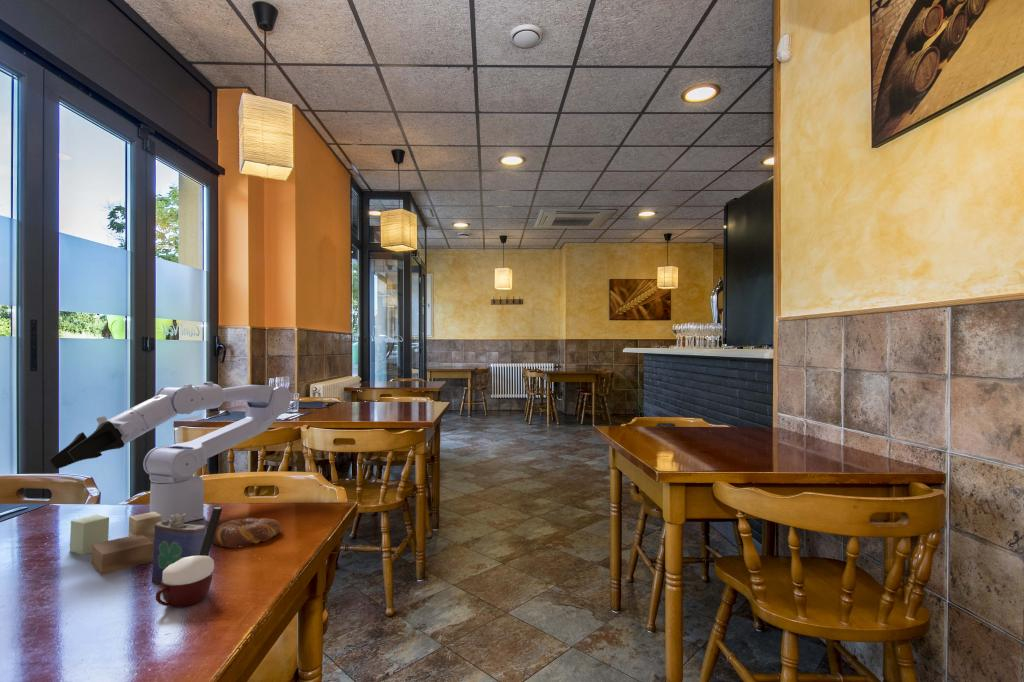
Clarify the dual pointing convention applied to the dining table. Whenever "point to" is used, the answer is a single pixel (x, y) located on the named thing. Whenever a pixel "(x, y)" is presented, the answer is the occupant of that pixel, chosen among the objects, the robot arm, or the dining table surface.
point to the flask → (174, 543)
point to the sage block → (88, 533)
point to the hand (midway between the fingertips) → (61, 460)
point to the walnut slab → (121, 553)
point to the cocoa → (190, 573)
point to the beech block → (144, 524)
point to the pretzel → (245, 531)
